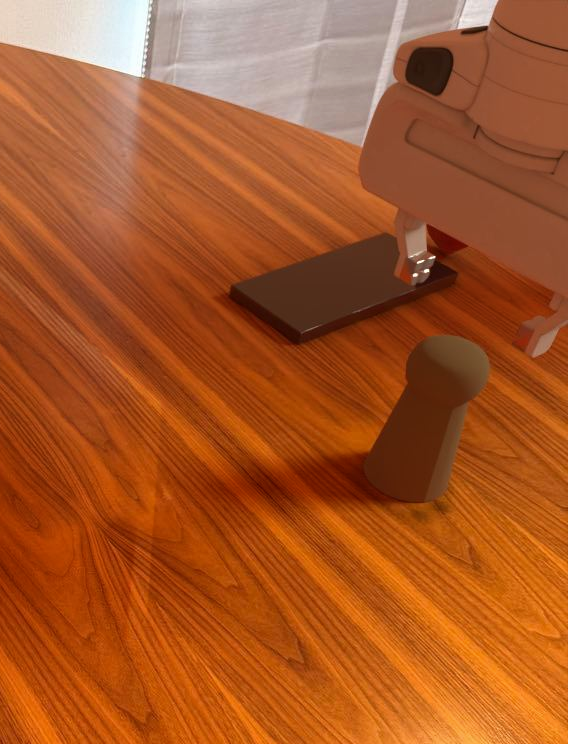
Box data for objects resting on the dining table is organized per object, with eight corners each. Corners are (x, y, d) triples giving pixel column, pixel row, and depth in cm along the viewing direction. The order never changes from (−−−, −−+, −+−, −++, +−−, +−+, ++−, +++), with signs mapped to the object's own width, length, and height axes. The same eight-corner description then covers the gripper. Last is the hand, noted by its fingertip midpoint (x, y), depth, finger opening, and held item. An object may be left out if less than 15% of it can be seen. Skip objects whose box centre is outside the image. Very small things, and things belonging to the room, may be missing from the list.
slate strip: (382, 242, 96) (386, 231, 95) (455, 284, 91) (459, 272, 90) (228, 296, 88) (230, 284, 87) (297, 345, 83) (301, 332, 82)
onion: (413, 235, 97) (439, 156, 92) (473, 242, 97) (503, 163, 91) (417, 263, 93) (445, 182, 88) (480, 271, 93) (512, 190, 87)
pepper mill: (359, 444, 74) (402, 318, 66) (440, 452, 73) (494, 326, 65) (367, 497, 69) (415, 369, 62) (454, 507, 69) (513, 379, 61)
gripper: (782, 147, 47) (644, 383, 57) (449, 22, 59) (382, 234, 69) (709, 174, 44) (577, 415, 54) (376, 37, 56) (317, 255, 66)
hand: (466, 313), depth 62 cm, fingers open, 8 cm apart
